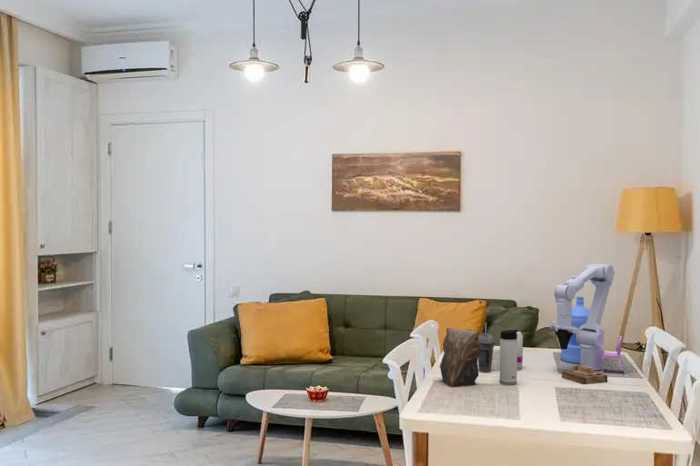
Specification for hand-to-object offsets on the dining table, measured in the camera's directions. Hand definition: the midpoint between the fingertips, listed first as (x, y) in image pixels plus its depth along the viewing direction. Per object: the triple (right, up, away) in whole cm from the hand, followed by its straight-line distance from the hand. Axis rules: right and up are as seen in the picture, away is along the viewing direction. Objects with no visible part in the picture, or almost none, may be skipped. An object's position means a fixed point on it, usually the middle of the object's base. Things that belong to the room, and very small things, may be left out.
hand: (563, 349), depth 274 cm
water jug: (+15, -10, +27) cm, 33 cm away
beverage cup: (-31, -10, +3) cm, 32 cm away
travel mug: (-26, -10, -18) cm, 33 cm away
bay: (+4, -10, -10) cm, 15 cm away
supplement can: (-18, -10, +10) cm, 23 cm away
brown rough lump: (-46, -10, -19) cm, 51 cm away
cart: (+5, -10, -11) cm, 15 cm away
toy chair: (+21, -10, +4) cm, 24 cm away
